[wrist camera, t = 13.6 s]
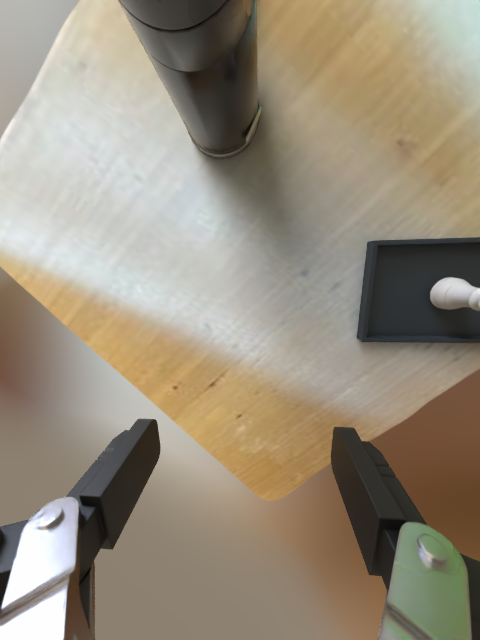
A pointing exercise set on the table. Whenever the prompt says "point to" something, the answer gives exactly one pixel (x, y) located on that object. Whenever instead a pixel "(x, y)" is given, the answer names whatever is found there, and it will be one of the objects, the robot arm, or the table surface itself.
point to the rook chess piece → (455, 294)
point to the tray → (417, 291)
